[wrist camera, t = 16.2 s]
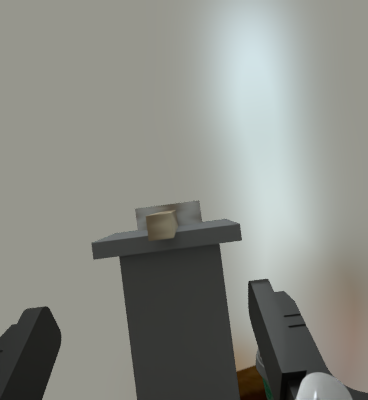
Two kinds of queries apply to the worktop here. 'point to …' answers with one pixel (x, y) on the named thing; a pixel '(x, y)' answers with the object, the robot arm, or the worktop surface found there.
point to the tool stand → (177, 311)
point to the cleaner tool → (167, 219)
